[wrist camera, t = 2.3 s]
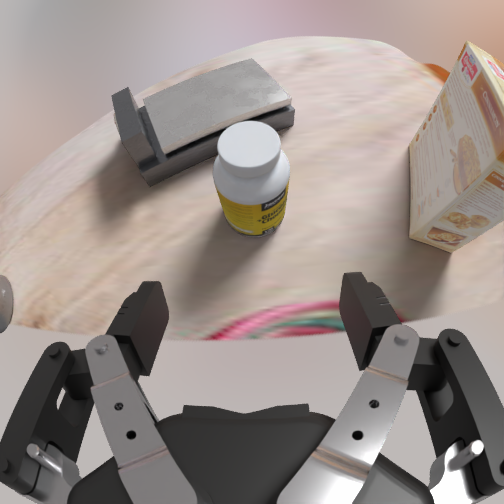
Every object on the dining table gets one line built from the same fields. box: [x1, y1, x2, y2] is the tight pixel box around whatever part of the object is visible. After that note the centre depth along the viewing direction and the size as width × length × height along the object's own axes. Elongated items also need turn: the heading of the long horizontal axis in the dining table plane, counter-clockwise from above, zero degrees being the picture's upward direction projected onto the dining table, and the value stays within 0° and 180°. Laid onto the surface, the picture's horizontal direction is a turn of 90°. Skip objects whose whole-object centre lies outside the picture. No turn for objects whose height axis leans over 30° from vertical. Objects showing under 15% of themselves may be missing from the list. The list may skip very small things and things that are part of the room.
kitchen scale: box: [112, 87, 295, 187], centre depth 31 cm, size 21×12×8 cm, turn 116°
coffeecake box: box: [409, 41, 504, 253], centre depth 21 cm, size 15×7×20 cm, turn 164°
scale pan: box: [143, 59, 292, 154], centre depth 31 cm, size 16×11×1 cm, turn 116°
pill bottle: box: [213, 121, 290, 237], centre depth 25 cm, size 6×6×12 cm
